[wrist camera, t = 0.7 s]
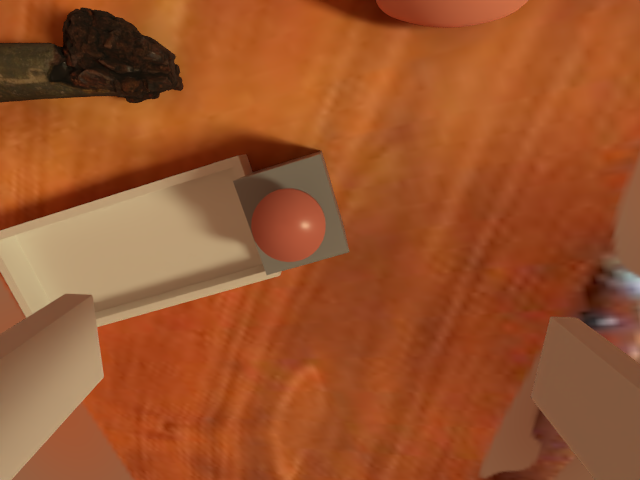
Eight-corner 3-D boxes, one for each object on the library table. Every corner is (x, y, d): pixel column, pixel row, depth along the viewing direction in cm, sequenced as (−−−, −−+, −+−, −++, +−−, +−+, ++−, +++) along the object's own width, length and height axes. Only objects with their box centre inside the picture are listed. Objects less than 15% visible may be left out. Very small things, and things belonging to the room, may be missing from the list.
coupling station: (11, 227, 38) (-115, 263, 27) (315, 131, 35) (311, 128, 24) (64, 326, 41) (-31, 393, 30) (349, 245, 38) (358, 287, 27)
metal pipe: (-4, 105, 34) (-64, 101, 29) (-24, 23, 32) (-92, 1, 27) (189, 103, 34) (166, 97, 29) (180, 21, 32) (154, -1, 27)
